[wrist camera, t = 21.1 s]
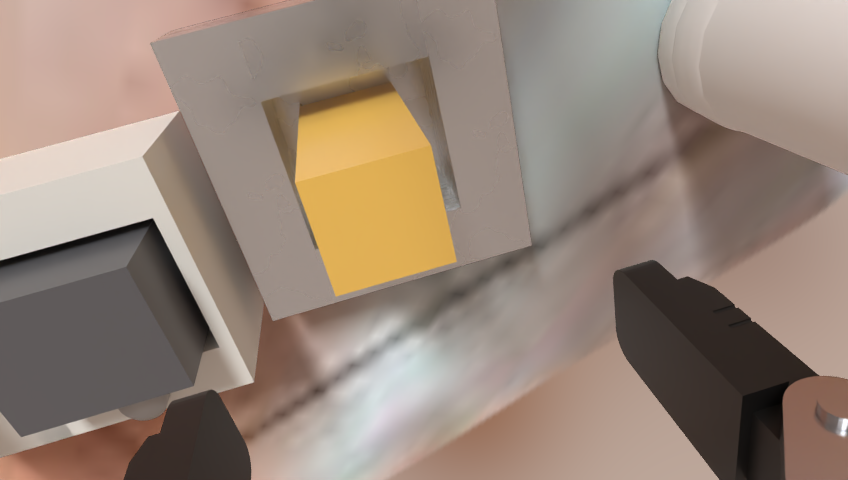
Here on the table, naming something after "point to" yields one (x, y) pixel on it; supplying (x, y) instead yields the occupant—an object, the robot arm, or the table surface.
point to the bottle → (764, 70)
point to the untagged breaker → (95, 328)
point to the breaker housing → (126, 204)
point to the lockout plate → (333, 76)
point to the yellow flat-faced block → (370, 189)
